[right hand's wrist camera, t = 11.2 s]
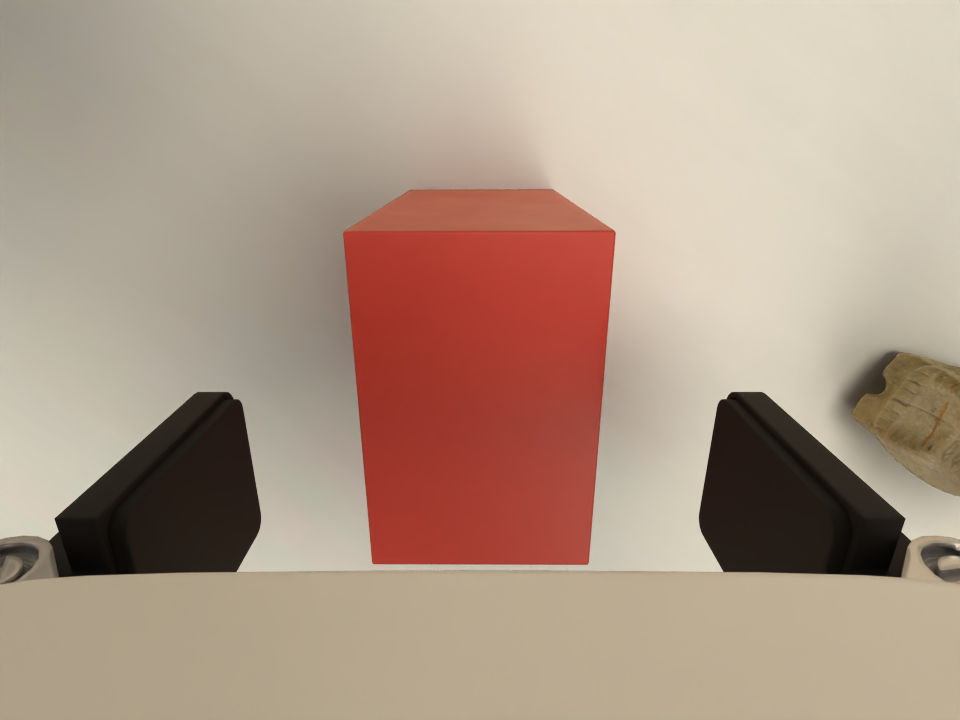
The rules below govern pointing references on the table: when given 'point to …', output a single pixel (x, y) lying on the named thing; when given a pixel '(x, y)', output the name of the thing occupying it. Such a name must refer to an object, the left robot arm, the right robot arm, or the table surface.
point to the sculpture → (918, 418)
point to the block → (480, 374)
